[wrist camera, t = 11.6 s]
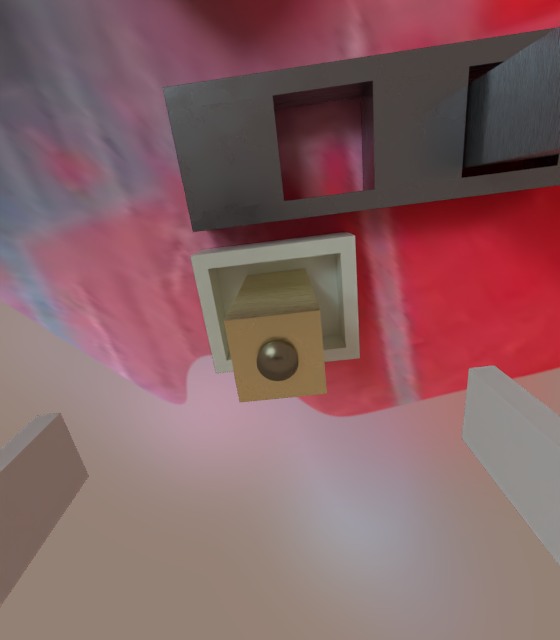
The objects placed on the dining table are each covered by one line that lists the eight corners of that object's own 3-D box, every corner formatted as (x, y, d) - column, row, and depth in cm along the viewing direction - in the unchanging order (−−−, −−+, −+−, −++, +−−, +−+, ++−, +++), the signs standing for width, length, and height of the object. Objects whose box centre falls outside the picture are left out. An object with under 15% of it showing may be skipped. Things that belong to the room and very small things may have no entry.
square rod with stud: (447, 170, 22) (578, 144, 12) (452, 95, 21) (604, -3, 11) (514, 161, 22) (700, 128, 12) (523, 84, 20) (745, -25, 11)
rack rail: (203, 228, 24) (193, 232, 21) (178, 103, 21) (162, 87, 18) (536, 185, 22) (573, 183, 20) (557, 46, 20) (603, 20, 17)
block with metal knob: (247, 275, 24) (222, 324, 14) (305, 268, 24) (321, 313, 14) (255, 329, 26) (238, 406, 16) (310, 323, 25) (328, 398, 16)
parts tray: (223, 355, 27) (215, 373, 24) (201, 249, 24) (190, 255, 21) (351, 341, 27) (359, 358, 24) (346, 231, 24) (355, 235, 21)
